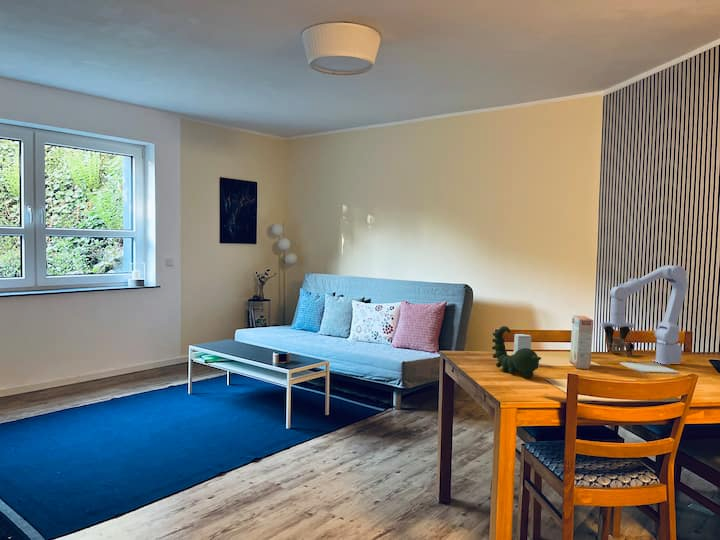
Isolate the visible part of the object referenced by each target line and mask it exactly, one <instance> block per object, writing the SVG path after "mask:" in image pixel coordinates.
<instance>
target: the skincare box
mask: <svg viewBox="0 0 720 540" xmlns="http://www.w3.org/2000/svg"><path fill="white" fill-rule="evenodd" d="M513 342H514V343H513V354H512V355H514V354H515V353H516V352H517V351H518V350H520V349H522V348H529V349H531V350H532V335H530V334H523V333H515V334H514V340H513Z"/></svg>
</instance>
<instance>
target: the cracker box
mask: <svg viewBox="0 0 720 540" xmlns="http://www.w3.org/2000/svg"><path fill="white" fill-rule="evenodd" d="M593 332H594V320H593V319H591V318H590V317H588V316H585V315H572V319H571V334H570V335H571V338H570V339H571V340H570V352H569V363H570V364H571V365H573V366H574V367H575V368H576V369H579V370H591V365H592V364H591V362H592V348H593Z"/></svg>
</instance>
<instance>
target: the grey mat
mask: <svg viewBox="0 0 720 540" xmlns="http://www.w3.org/2000/svg"><path fill="white" fill-rule="evenodd" d="M619 364H620V365H622V366H624V367H626V368H629V369H632V370H634V371H637V372H639V373H647V374H649V373H650V372H662V373H661V374H680V371H677V370H675V369H672V368H669V367H667V366H663V365H662V364H660V363H657V362H619ZM674 372H675V373H674Z"/></svg>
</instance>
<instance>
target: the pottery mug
mask: <svg viewBox="0 0 720 540" xmlns="http://www.w3.org/2000/svg"><path fill="white" fill-rule="evenodd" d="M625 341H626V340H625ZM625 341H624V349H625V350H626V353H625V354H626V357H627V358H629V357H628V356H630V357H632V356H633V350H634V348H635V345H634V343H633V342H631V341H630V342H625ZM619 349H621V345H619ZM609 351H611V352H612V353H613V354H615V353H614V352H613V351H612V344H611V350H609Z"/></svg>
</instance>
